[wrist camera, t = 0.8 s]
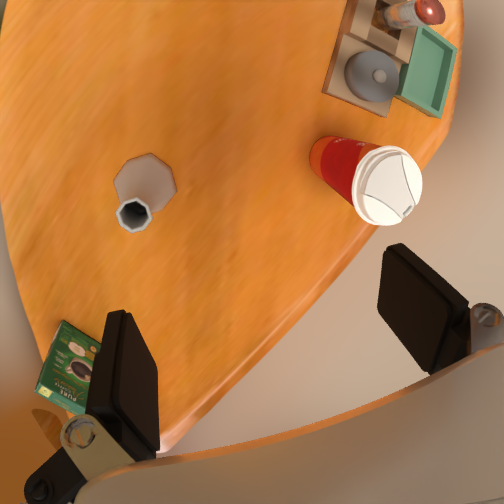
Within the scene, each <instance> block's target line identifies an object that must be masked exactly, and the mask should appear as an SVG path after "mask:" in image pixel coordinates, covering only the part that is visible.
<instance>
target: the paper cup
mask: <svg viewBox="0 0 504 504" xmlns="http://www.w3.org/2000/svg"><path fill="white" fill-rule="evenodd" d="M309 159H310V165H311V167H312V169H313V171H314V172H315V173H316V174H317V175H318V176H319V177H320V178H321V179H322V180H323V181H325V182H326V183H327V184H328V185H329V186H330V187H332V188H333V189H334V190H335V191H336V192H337V193H339V194H340V195H341V196H342V197H343V198H344V199H346V200H347V201H348V202H349V203H350V204H351V205H353V206H354V207H355V209H356V211H357V213H358V214H359V216H360V217H361V218H362V219H364V220H365V221H366V222H368V223H371V224H374V225H394V224H397V223H399V222H401V221H402V220H401V219H403V218H404V217H406V216H407V215H408V214H409V213H410V212H411V211H412V210H413V206H414V205H417V203H418V202H419V199H420V196H421V192H422V176H421V172H420V170H419V167H418V165H417V164H416V163H415V161H414V160H413V159H412V157H411V156H410V155H409V154H408V153H407V152H406V151H405V150H403V149H402V148H399V147H396V146H379V145H375V144H370V143H366V142H362V141H357V140H352V139H347V138H342V137H336V136H326V137H323V138H321V139H319V140H318V141H317V142H316V143H315V144H314V145H313V147H312V149H311V152H310V157H309Z"/></svg>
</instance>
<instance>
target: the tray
mask: <svg viewBox="0 0 504 504" xmlns="http://www.w3.org/2000/svg"><path fill="white" fill-rule="evenodd" d="M456 53H457V48H456V47H455V46H453V45H452V44H451V43H450V42H448V41H447V40H446V39H444V38H443V37H442V36H441V35H439V34H438V33H437V32H435V31H434V30H432V29H431V28H430V27H428V26H419V27H417V30H416V35H415V39H414V44H413V48H412V52H411V56H410V60H409V64H401V68H400V72H399V86H398V89H397V92H396V93H395V95H394V97H396V98H398V99H400V100H401V101H403V102H405V103H407V104H409V105H411V106H412V107H414V108H416V109H418V110H419V111H421V112H423V113H424V114H426V115H428V116H430V117H434V118H439V119H441V117H442V113H443V109H444V105H445V102H446V98H447V94H448V90H449V85H450V81H451V77H452V72H453V68H454V63H455V58H456Z"/></svg>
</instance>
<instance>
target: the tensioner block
mask: <svg viewBox="0 0 504 504" xmlns="http://www.w3.org/2000/svg"><path fill="white" fill-rule="evenodd" d="M406 1H407V0H348V1H347V5H346V8H345V12H344V16H343V19H342V23H341V26H340V30H339V34H338V37H337V41H336V44H335V48H334V51H333V55H332V58H331V62H330V65H329V69H328V72H327V76H326V79H325V83H324V86H323V89H322V93H325V94H328V95H330V96H333V97H336V98H338V99H341V100H343V101H346V102H348V103H350V104H353V105H355V106H358V107H360V108H362V109H365V110H367V111H369V112H371V113H374V114H376V115H378V116H380V117H385V118H387V115H388V112H389V108H390V105H391V101H392V98H393V96H394V95H395V93H396V92H397V89H398V86H399V72H400V68H401V64H409V60H410V56H411V52H412V48H413V44H414V39H415V35H416V30H417V27H412V28H405V29H398V30H392V31H388V34H386V33H385V32H383V31H381V30H379V29H377V28H375V27H374V26H372V25H371V21H372V17H373V13H374V9H375V8H377V9H380V8H384V7H387V6H391V5H395V4H398V3H402V2H406Z"/></svg>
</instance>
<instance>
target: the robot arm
mask: <svg viewBox="0 0 504 504" xmlns="http://www.w3.org/2000/svg"><path fill="white" fill-rule="evenodd" d="M468 304H469V301H467V300H466V299H465V298H464V297H463V296H462V295H461V294H460V293H459V292H458V291H457V290H456V289H454V288H453V287H452V286H451V285H450V284H449V283H448V282H447V281H446V280H445V279H444V278H442V277H441V276H440V275H439V274H438V273H437V272H436V271H434V270H433V269H432V268H431V267H430V266H429V265H427V264H426V263H425V262H424V261H423V260H422V259H421V258H419V257H418V256H417V255H416V254H415V253H413V252H412V251H411V250H410V249H409V248H407V247H406V246H405V245H404V244H402V243H398V244H395V245H391V246H388V247H387V248H386V251H384V253H383V260H382V270H381V279H380V288H379V296H378V303H377V308H378V312H379V314H380V315H381V316H382V318H383V319H384V321H385V322H386V323H387V324H388V326H389V327H390V328H391V329H392V331H393V332H394V333H395V335H396V336H397V337H398V338H399V340H400V341H401V342H402V344H403V345H404V346H405V348H406V349H407V350H408V351H409V353H410V354H411V355H412V357H413V358H414V360H415V361H416V362H417V363H418V365H419V366H420V367H421V369H422V370H423V371H424V372H428V374H429V375H430V376H428V377H426V378H424V379H422V380H421V381H418V382H416V383H414V384H412V385H410V386H408V387H405V388H403V389H401V390H399V391H397V392H395V393H392V394H390V395H388V396H385V397H383V398H380V399H378V400H376V401H373V402H371V403H368V404H366V405H363V406H361V407H358V408H356V409H353V410H350V411H348V412H345V413H342V414H339V415H337V416H334V417H331V418H328V419H325V420H322V421H319V422H316V423H313V424H310V425H307V426H304V427H300V428H297V429H293V430H290V431H287V432H283V433H279V434H276V435H272V436H268V437H265V438H260V439H257V440H252V441H248V442H244V443H239V444H235V445H230V446H225V447H220V448H215V449H210V450H205V451H199V452H194V453H188V454H182V455H175V456H168V457H162V458H157V459H156V451H159V450H160V435H159V412H158V371H157V366H156V363H155V361H154V359H153V357H152V355H151V353H150V351H149V349H148V347H147V345H146V343H145V341H144V339H143V337H142V335H141V333H140V331H139V329H138V327H137V325H136V323H135V321H134V318H133V316H132V314H131V313H130V312H129V313H126V311H125V310H118V311H113V312H109V313H108V315H107V319H106V323H105V328H104V333H103V337H102V342H101V347H100V352H97V353H96V354H95V357H94V361H93V367H92V372H91V378H90V383H89V389H88V396H87V402H86V409H85V414H80V415H76V416H74V417H72V418H71V419H69V420H68V421H67V422H66V423H65V425H64V426H63V428H62V431H61V435H60V437H61V443H62V445H63V446H62V447H61V448H60V449H59V450H58V451H57V452H56V453H55V454H54V455H53V456H52V457H50V458H49V460H47V461H46V462H45V463H44V464H43V465H42V466H41V467H40V468H38V469H37V470H36V471H35V472H34V473H33V474H32V475H31V476H30V477H29V478H28V479H27V481H26V483H25V487H24V495H25V498H26V502H25V503H24V504H504V316H503V314H502V312H501V311H500V310H499V309H498V308H496V307H495V306H493V305H491V304H488V303H478V304H476V305H474V306H473V307H472V308H471V309H470V308H469V307H468ZM20 504H23V503H20Z"/></svg>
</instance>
